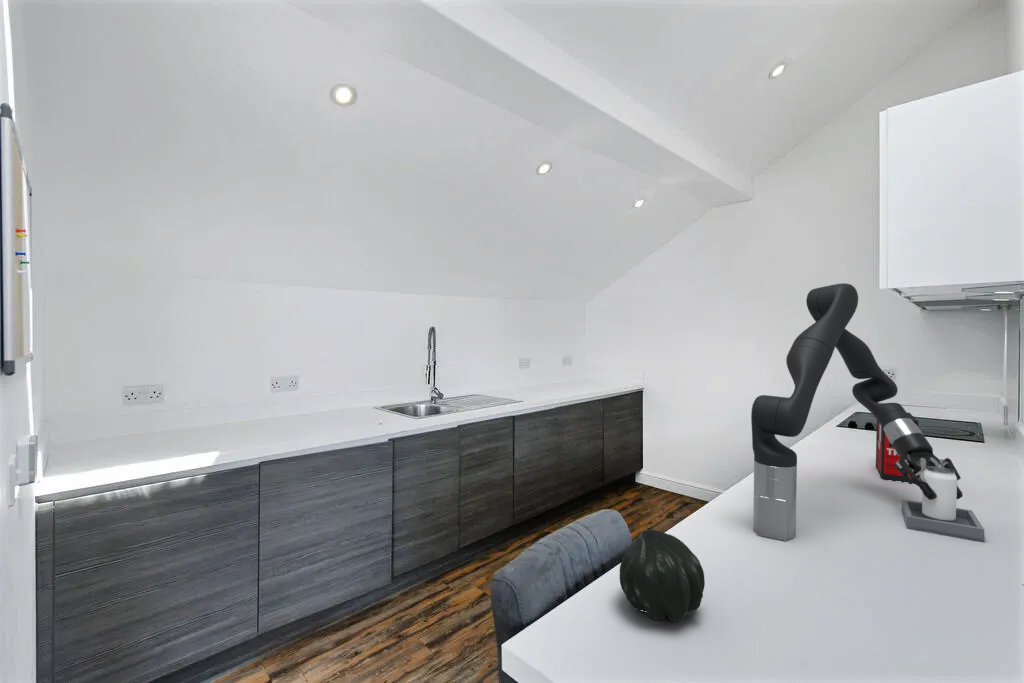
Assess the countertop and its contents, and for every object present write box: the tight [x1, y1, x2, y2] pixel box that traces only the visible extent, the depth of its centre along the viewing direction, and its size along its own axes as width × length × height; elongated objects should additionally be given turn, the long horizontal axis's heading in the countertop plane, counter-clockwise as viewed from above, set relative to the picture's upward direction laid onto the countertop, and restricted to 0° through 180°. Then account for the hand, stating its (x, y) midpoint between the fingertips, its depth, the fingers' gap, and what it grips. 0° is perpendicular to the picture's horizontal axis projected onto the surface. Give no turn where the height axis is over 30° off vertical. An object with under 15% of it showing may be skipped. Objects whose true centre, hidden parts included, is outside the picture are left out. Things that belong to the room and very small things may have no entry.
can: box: [921, 466, 958, 521], centre depth 124 cm, size 6×6×12 cm
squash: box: [619, 528, 706, 622], centre depth 89 cm, size 14×15×15 cm
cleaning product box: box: [875, 411, 919, 483], centre depth 164 cm, size 16×9×20 cm, turn 149°
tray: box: [901, 499, 985, 543], centre depth 124 cm, size 14×14×3 cm
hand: (946, 498), depth 122 cm, fingers closed on can, 6 cm apart
